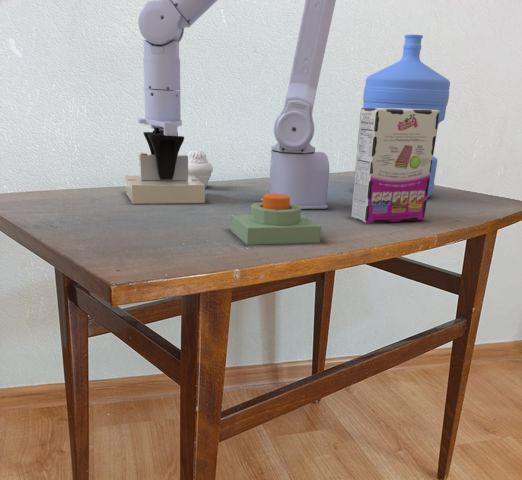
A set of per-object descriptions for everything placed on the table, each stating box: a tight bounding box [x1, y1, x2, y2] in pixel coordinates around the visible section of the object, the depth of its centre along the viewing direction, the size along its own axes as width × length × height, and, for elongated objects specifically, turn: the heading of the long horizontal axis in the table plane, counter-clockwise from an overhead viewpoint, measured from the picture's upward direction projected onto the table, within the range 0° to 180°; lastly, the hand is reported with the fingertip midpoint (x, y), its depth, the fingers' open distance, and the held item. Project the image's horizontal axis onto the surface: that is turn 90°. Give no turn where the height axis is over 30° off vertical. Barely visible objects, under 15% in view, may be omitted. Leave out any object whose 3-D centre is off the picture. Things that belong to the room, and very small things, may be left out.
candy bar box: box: [350, 107, 440, 224], centre depth 91 cm, size 11×5×16 cm, turn 114°
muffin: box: [186, 148, 214, 188], centre depth 112 cm, size 6×6×7 cm
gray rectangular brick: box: [138, 152, 188, 180], centre depth 99 cm, size 8×2×4 cm, turn 108°
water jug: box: [353, 34, 451, 199], centre depth 112 cm, size 16×16×28 cm
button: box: [261, 193, 290, 210], centre depth 78 cm, size 4×4×2 cm
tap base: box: [124, 175, 206, 205], centre depth 101 cm, size 12×12×3 cm
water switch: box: [230, 201, 322, 246], centre depth 79 cm, size 10×8×4 cm
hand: (164, 177), depth 100 cm, fingers open, 3 cm apart
